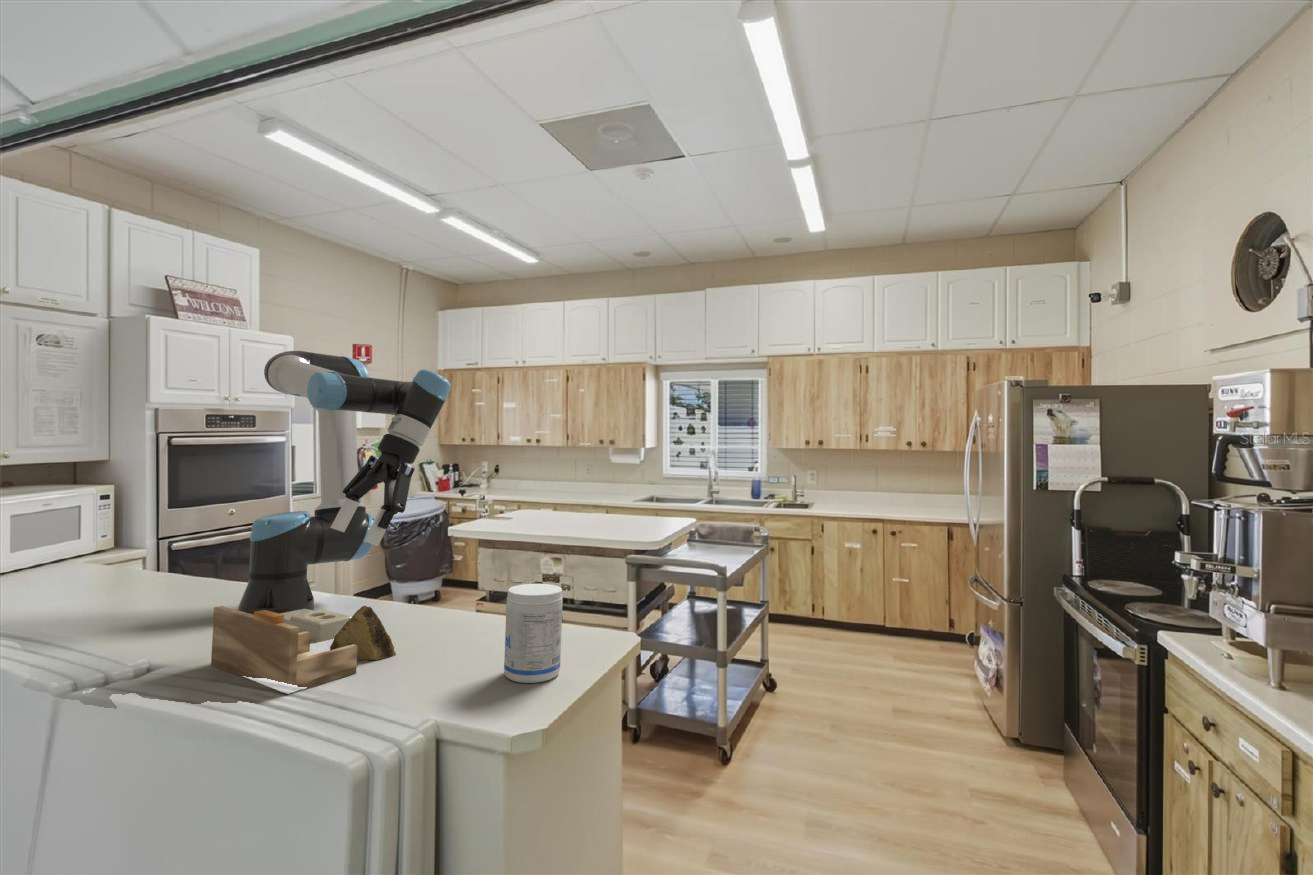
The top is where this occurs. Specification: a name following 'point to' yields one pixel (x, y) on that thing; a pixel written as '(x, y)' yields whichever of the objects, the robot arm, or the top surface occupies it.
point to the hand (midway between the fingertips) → (353, 536)
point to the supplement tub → (533, 632)
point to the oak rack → (274, 650)
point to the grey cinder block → (317, 623)
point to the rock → (365, 636)
